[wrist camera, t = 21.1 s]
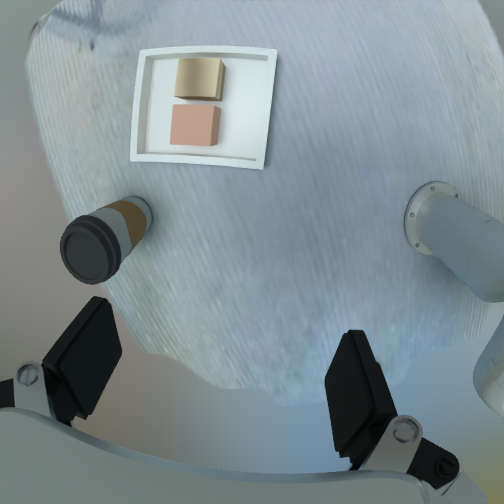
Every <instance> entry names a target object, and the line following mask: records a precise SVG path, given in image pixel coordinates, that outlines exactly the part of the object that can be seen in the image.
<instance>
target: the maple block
mask: <svg viewBox="0 0 504 504" xmlns="http://www.w3.org/2000/svg"><path fill="white" fill-rule="evenodd" d="M225 72H226V66H225V65H224V63H223V62H222V60H221V59H220V58H181V59H179V61H178V68H177V76H176V83H175V92H174V97H177V98H180V99H183V100H197V101H222V96H223V88H224V80H225Z"/></svg>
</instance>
